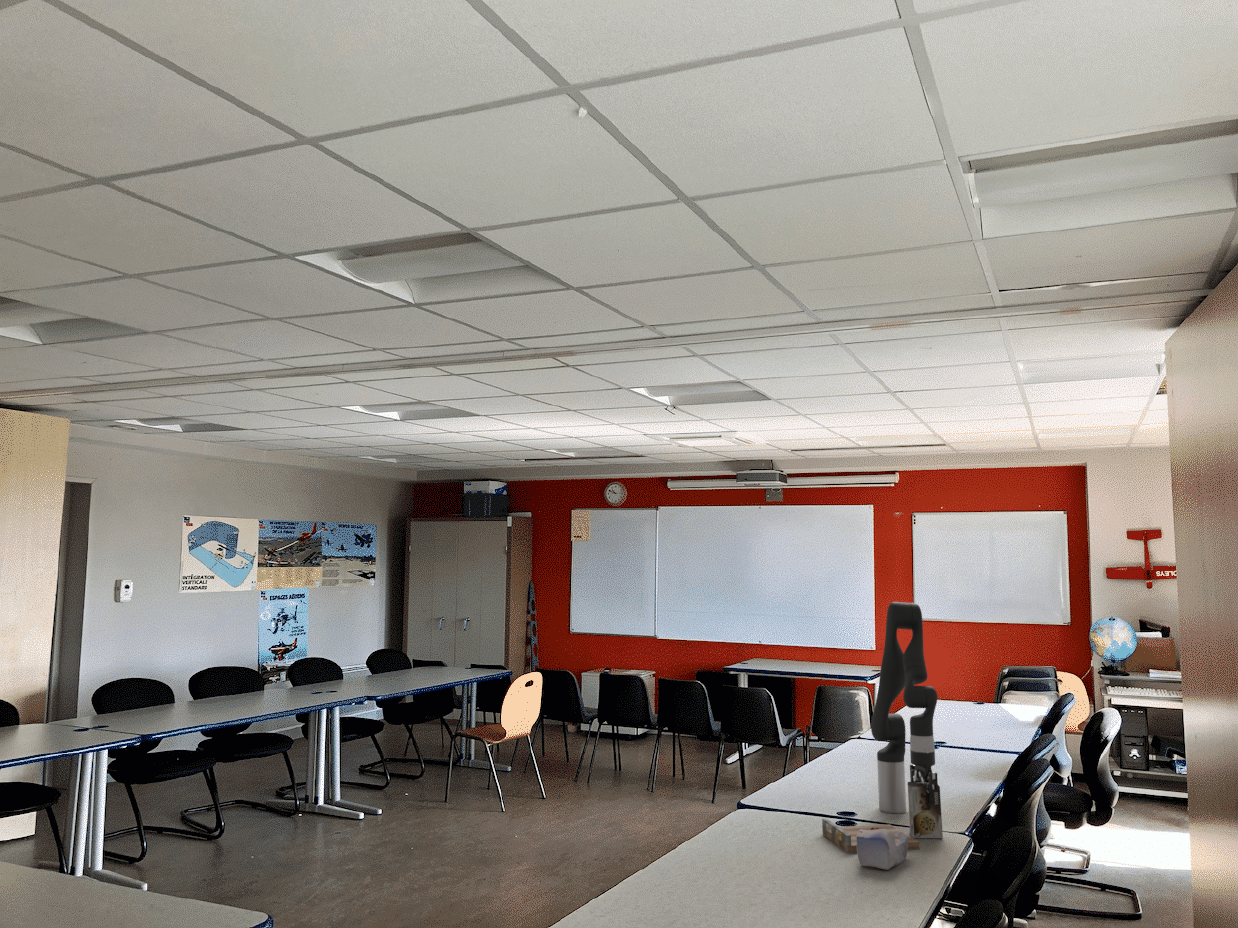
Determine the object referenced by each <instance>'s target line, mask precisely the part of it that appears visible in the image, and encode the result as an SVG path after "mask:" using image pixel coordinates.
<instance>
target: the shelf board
mask: <svg viewBox="0 0 1238 928" xmlns="http://www.w3.org/2000/svg"><path fill="white" fill-rule="evenodd" d="M821 821H822V822H821V825H822V826H821V827H822V828H821V830H822V835H823V836H824V837H826V838H827V839H829V840H830V841H831V842H832V843H833V844H835V845H836V846H838V847H839V848H840V849H842V850H843V851H844V852H846V853H847V854H850V853H851V854H852V853H857V841H856V836H857V833H858V831H859V830H860V829H863V830H870V829H871V828H872V827H873V828H878V829H887V830H889V831H891V832H892V833H895V834H901V833H902V834H903V835H906V836H908V837H909V839H908V850H918V849H920V841H918V840H917V839H916V838H914V837H913V836H910V835H908V834H907V833H905V832H903V831H902V830H900V829H899V828H897V827H895V826H893V825H892V824H874V825H873V824H872V825H855V826H853V825H851V826H838V825H836V824H835V823H834V822H832V821H831V820H829V819H828V818H825V817H823V818H821Z"/></svg>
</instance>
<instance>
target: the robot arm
mask: <svg viewBox="0 0 1238 928" xmlns="http://www.w3.org/2000/svg"><path fill="white" fill-rule="evenodd" d="M885 621H886V624H885V639H884V647H883V655H882V658H881V659H882V660H881V664H880V665H881V666H880V671H879V673H880V674H879V683H878V690H877V694H876V699H875V704H874V708H873V713H872V716H871V723H870V729H871V730H870V731H871V734H872V735H871V736H872V737H873V738H874V740H876V741H878V742H886V741H887V742H888V743H887V745H886V746H884V747H883V748H881V749H879V750H878V751H877V754H876V757H877V758H876V759H877V760H876V762H877V789H878V810H879V811H881V812H883V813H888V814H903V813H905V812H907V796H906V795H907V791H906V772H905V771H906V770H905V755H906V736H907V735H906V730H907V729H906V723H905V720H904V717H903V716H902V715H901V714H899V713H893V712H892V713H890V711H891V710H890V709H891V707H892V705H893V703H894V702H895V701H896V699H897V698H898V697H899V696H900V694H901V693H902V692H903V695H902V699H903V702H904V705H905V706H906V707H907V708H909V709H924V711H923V712H922V713H919V714H915V715H912V716H911V717H910V718H909V730H910V731H909V732H910V737H909V747H910V749H909V753H910V764H909V775H910V777H909V778H910V779H909V781H910V782H922V784H923V786H924V787H925V789H926V792H927V793H926V799H927V805H929V806H930V805H934V793H935V792H938V785H939V782H938V773H937V772H933V770H932V767H933V766H935V765H936V752H935V751H936V749H935V748H936V747H935V739H934V726H933V725H934V715H935V710H936V707H937V702H938V692H937V691H936V689H935V687H933V686H931V685H920V684H924V682H927V680H928V671H927V665H926V661H925V653H924V651H925V650H924V629H923V625H924V624H923V614H922V610H921V607H920V605H919V604H918V603H915V602H902V601H892V602H890V603H889V604H888V607H887V612H886V620H885ZM898 630H910V631H911V632H912V636H911V639H910V641H909V643H908V645H907V647H906V648H905V651H903V649H902V648H901V645H900V643H899V640H898V636H897V635H898ZM928 786H929V788H928ZM934 786H935V788H934Z"/></svg>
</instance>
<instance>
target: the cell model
mask: <svg viewBox="0 0 1238 928" xmlns="http://www.w3.org/2000/svg"><path fill="white" fill-rule="evenodd" d="M908 836H909V835H908ZM908 836H906V835H903V834H902V833H901V834H895V833H892V832H891V831H889V830H887V829H878V828H873V827H872V828H871V829H870V830H863V829H860V830H859V831H858V833H857V836H856V841H857V852H856V854H857V859H858V861H859V864H860V865H861V866H862V867H873V868H877V869H880V870H884V871H885V870H886V871H887V870H890V869H891V868H893V867H895V866H897V865H900V864H901V863H903V862H904V860H905V859H906V858H907V854H908V851H909V849H908V839H909V837H908Z"/></svg>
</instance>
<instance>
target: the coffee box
mask: <svg viewBox="0 0 1238 928" xmlns="http://www.w3.org/2000/svg"><path fill="white" fill-rule="evenodd" d="M928 788H929V786H928ZM934 788H935V786H934ZM926 793H927V792H926V789H925V787H924V786H923V784H922V782H911V781H908V782H907V794H908V795H907V797H908V816H909V819H908V821H909V833H910V835H911V837H912V838H913V839H943V838H944V837H943V819H942V803H941V787H940V785H939V784H938V792H935V793H934V805H930V806H929V805H927V799H926Z"/></svg>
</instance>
